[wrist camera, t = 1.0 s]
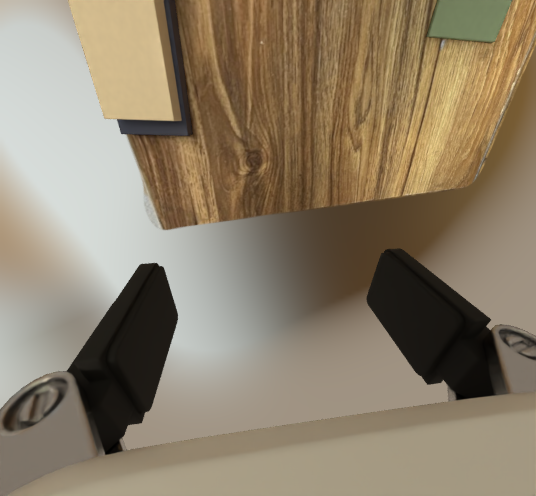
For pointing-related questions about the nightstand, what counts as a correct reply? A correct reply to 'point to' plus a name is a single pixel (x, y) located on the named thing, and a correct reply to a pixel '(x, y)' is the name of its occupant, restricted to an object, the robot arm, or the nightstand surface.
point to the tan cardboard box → (129, 57)
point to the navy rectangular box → (185, 125)
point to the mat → (468, 19)
